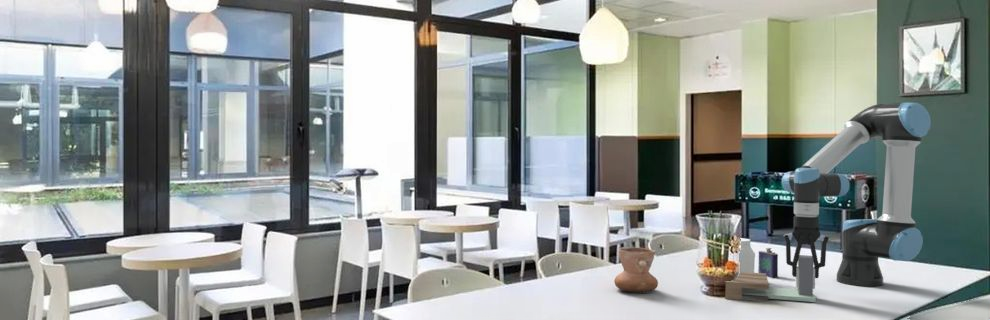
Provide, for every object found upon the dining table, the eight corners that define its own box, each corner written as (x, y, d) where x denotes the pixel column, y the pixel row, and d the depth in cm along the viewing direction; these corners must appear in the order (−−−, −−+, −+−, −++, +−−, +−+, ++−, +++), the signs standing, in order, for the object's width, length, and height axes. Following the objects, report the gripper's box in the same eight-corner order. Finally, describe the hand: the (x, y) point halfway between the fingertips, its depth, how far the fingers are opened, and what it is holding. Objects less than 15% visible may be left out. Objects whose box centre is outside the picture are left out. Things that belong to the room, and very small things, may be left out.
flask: (756, 274, 272) (757, 246, 271) (762, 273, 273) (763, 245, 272) (773, 278, 263) (774, 249, 263) (780, 278, 264) (780, 249, 264)
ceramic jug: (664, 296, 230) (665, 253, 230) (620, 296, 230) (621, 252, 230) (649, 286, 248) (650, 245, 248) (608, 285, 248) (609, 245, 248)
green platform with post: (741, 288, 242) (741, 250, 242) (811, 293, 235) (812, 254, 235) (741, 296, 230) (742, 256, 230) (815, 302, 223) (816, 260, 223)
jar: (730, 283, 253) (731, 241, 253) (716, 278, 262) (717, 237, 262) (759, 282, 256) (760, 240, 255) (744, 277, 265) (745, 237, 265)
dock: (725, 286, 247) (726, 270, 247) (765, 289, 243) (766, 273, 243) (725, 298, 228) (725, 281, 228) (768, 301, 224) (768, 284, 224)
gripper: (778, 215, 228) (777, 287, 229) (836, 217, 223) (835, 291, 223) (777, 213, 235) (776, 283, 236) (833, 215, 230) (832, 287, 230)
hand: (805, 287), depth 230 cm, fingers closed on green platform with post, 4 cm apart
